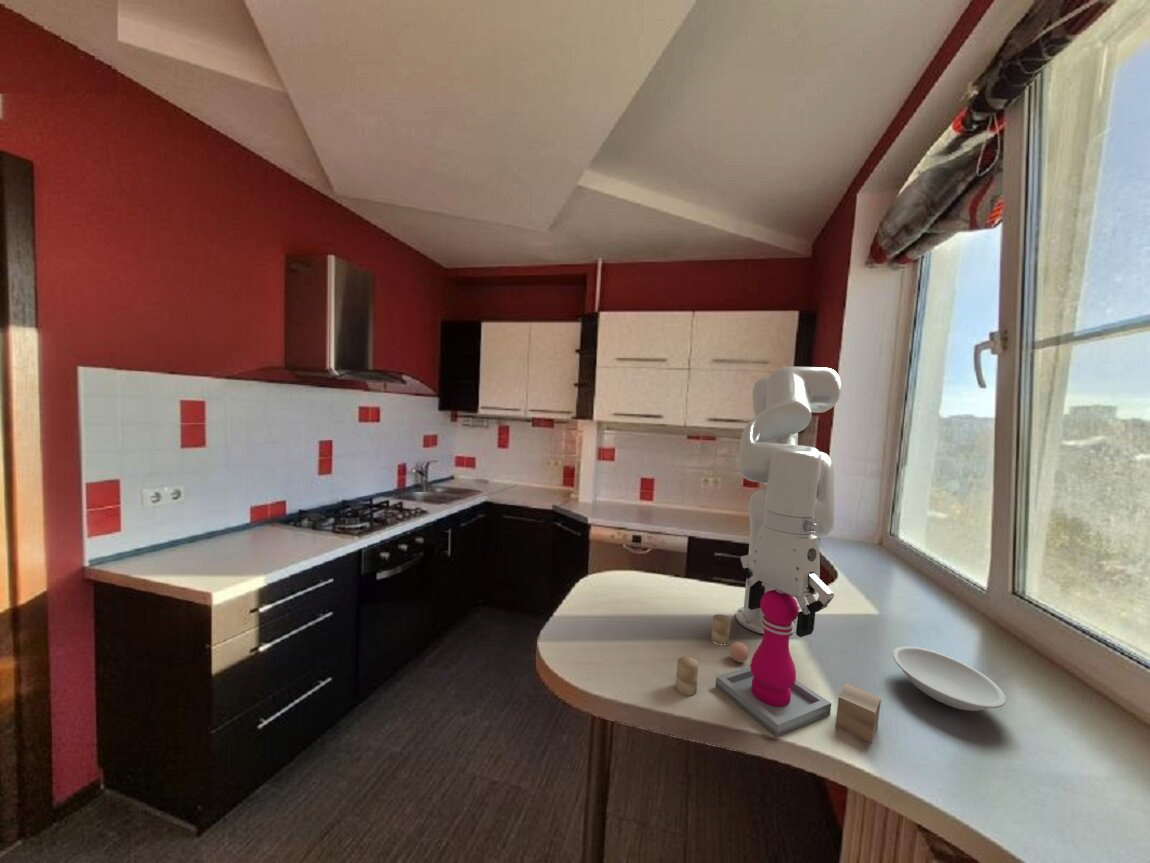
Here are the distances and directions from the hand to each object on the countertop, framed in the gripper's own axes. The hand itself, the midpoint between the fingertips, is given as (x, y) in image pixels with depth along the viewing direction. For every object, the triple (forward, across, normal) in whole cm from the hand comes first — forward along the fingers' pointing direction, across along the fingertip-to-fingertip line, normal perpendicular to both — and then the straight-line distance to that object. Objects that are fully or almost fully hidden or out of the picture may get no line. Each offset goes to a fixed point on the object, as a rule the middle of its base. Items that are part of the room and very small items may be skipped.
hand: (778, 620), depth 77 cm
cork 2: (+14, +18, -6) cm, 24 cm away
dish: (+15, -12, -30) cm, 35 cm away
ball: (+12, +11, -4) cm, 17 cm away
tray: (+14, 0, 0) cm, 14 cm away
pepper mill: (+14, 0, 0) cm, 14 cm away
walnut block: (+14, -10, -8) cm, 19 cm away
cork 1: (+14, +8, +12) cm, 20 cm away
